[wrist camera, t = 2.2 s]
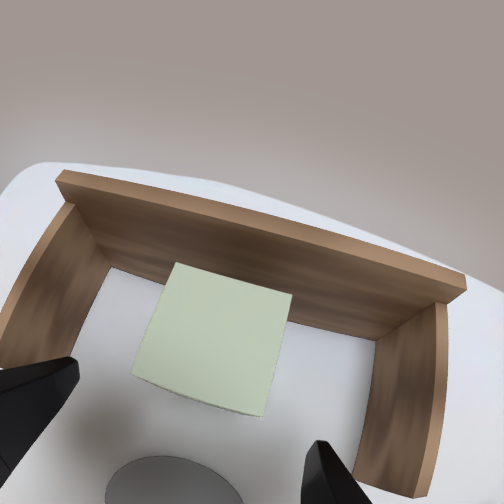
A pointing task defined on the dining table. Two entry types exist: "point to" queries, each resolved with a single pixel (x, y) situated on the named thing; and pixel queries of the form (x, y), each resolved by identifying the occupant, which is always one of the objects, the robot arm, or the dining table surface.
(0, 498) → the dining table surface
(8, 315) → the open box
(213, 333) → the block
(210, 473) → the grey mat
